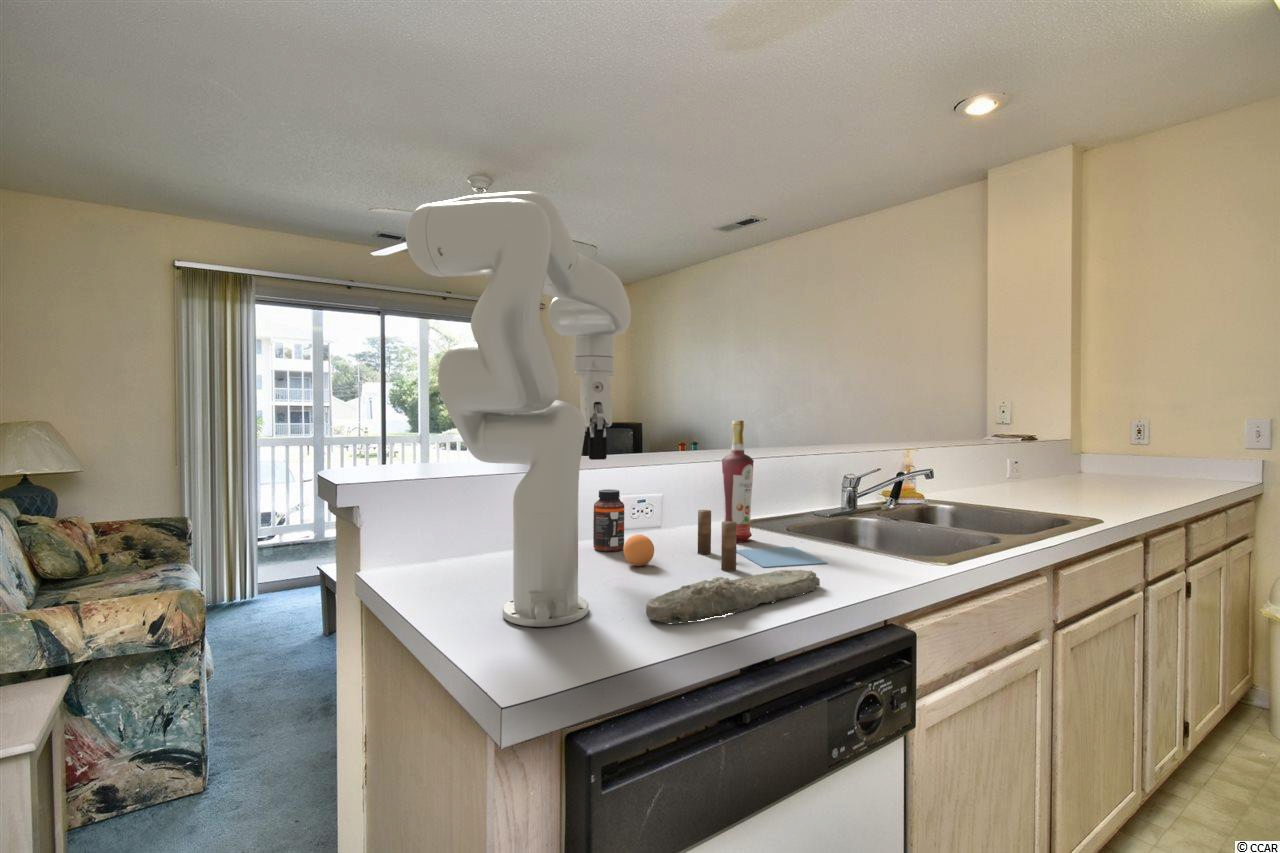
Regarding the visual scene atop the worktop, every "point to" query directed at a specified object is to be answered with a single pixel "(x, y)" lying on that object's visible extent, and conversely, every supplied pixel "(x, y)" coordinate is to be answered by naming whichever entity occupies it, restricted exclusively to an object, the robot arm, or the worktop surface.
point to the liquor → (738, 484)
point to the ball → (638, 550)
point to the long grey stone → (728, 595)
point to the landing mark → (780, 557)
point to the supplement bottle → (608, 522)
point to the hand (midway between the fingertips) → (594, 457)
